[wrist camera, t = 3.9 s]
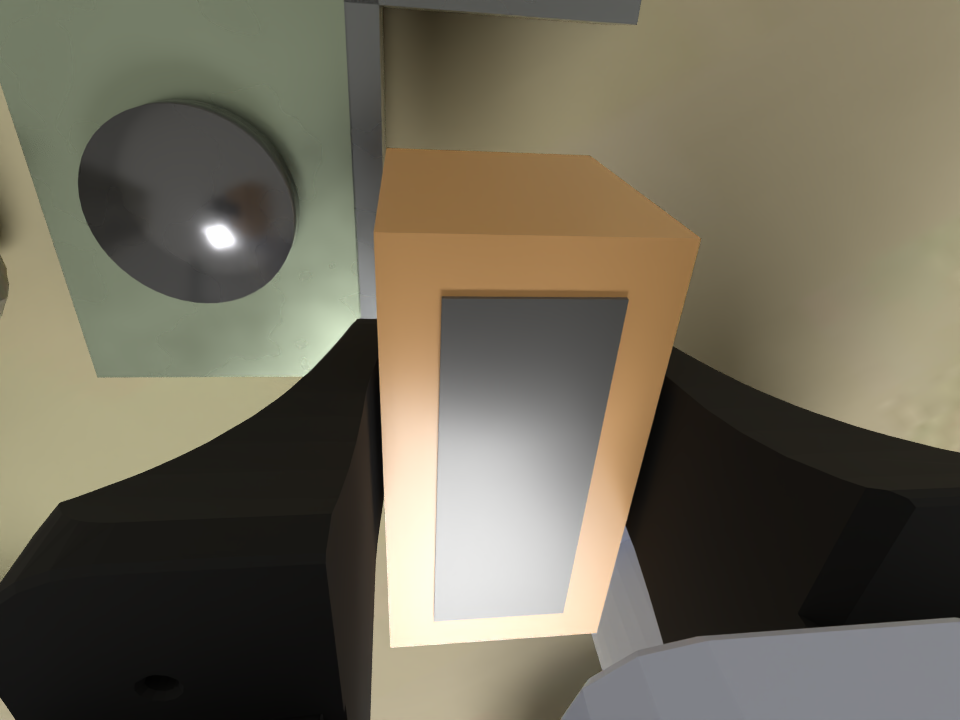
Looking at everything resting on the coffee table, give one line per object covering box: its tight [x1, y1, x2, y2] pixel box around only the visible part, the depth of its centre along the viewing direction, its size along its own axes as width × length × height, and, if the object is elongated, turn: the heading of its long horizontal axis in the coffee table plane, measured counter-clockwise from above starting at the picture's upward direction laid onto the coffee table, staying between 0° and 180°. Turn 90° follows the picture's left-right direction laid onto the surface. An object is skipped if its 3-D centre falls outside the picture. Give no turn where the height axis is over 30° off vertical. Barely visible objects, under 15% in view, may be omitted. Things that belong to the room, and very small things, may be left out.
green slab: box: [0, 0, 641, 377], centre depth 16 cm, size 15×11×4 cm
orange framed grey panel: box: [374, 148, 701, 648], centre depth 11 cm, size 4×8×5 cm, turn 176°
